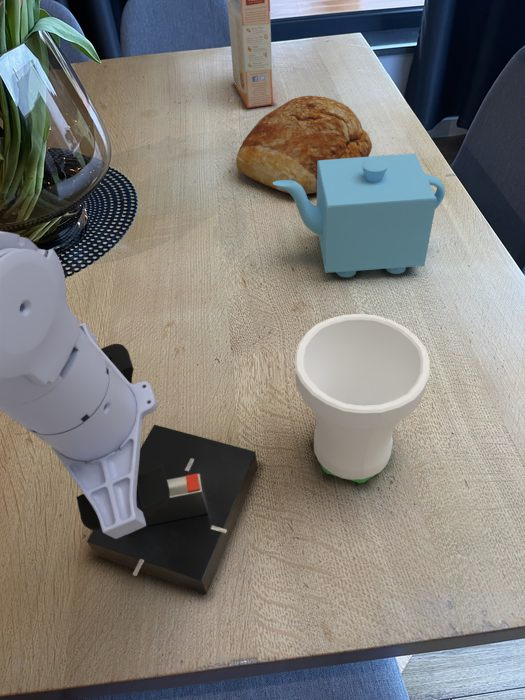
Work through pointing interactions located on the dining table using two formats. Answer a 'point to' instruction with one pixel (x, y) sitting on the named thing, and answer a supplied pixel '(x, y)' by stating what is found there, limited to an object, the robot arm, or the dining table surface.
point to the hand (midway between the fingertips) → (141, 461)
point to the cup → (359, 389)
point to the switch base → (193, 532)
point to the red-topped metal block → (182, 500)
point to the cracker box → (251, 50)
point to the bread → (301, 141)
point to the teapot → (370, 212)
